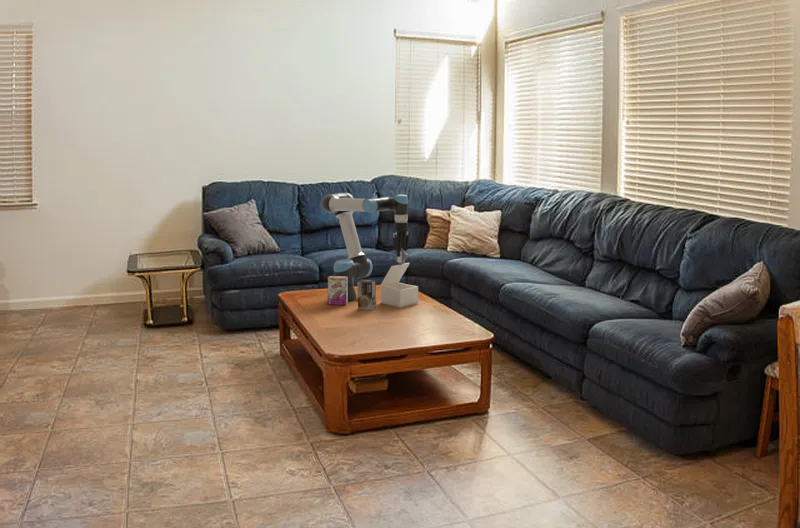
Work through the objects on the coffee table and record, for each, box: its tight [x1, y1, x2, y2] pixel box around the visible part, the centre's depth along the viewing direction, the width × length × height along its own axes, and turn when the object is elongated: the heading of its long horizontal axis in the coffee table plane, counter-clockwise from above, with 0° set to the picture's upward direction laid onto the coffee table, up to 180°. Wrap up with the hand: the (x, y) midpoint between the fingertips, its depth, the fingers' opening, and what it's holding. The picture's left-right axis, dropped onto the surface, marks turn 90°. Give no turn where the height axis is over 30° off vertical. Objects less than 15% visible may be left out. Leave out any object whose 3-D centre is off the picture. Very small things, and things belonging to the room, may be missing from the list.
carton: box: [380, 282, 419, 308], centre depth 456 cm, size 16×15×10 cm
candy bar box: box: [327, 275, 349, 306], centre depth 453 cm, size 11×5×16 cm, turn 84°
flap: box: [380, 247, 410, 287], centre depth 455 cm, size 24×15×6 cm
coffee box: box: [356, 279, 377, 311], centre depth 442 cm, size 9×6×16 cm
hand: (401, 261), depth 451 cm, fingers closed on flap, 2 cm apart
